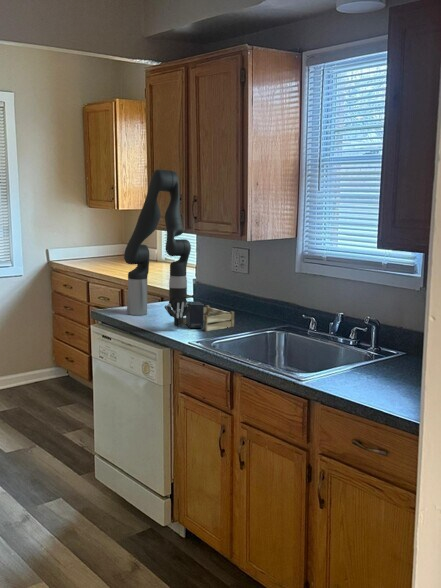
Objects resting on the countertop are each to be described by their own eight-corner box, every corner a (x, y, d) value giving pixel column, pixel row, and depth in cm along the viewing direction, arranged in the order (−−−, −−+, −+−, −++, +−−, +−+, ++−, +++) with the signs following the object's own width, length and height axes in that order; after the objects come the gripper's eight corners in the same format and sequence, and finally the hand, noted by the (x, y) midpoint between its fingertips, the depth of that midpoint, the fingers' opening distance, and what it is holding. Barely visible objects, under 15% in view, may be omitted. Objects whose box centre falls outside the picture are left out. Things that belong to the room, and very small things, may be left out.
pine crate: (179, 323, 289) (180, 308, 287) (207, 319, 299) (207, 305, 298) (206, 331, 275) (206, 315, 274) (233, 326, 286) (234, 311, 284)
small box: (204, 328, 279) (204, 304, 278) (189, 328, 277) (189, 304, 276) (199, 323, 289) (199, 301, 288) (185, 324, 288) (185, 301, 286)
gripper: (185, 284, 279) (184, 323, 282) (160, 286, 271) (160, 326, 273) (195, 286, 273) (195, 325, 276) (170, 288, 265) (170, 329, 267)
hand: (177, 326), depth 275 cm, fingers closed
